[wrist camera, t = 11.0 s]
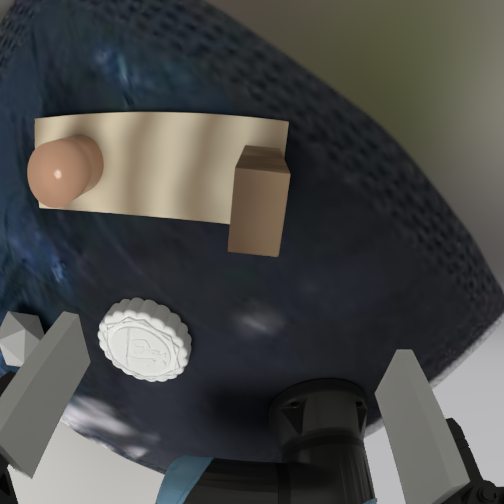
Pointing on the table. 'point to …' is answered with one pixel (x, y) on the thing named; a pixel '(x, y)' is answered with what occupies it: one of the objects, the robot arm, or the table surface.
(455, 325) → the table surface
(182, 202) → the strip
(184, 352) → the mooncake
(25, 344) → the die
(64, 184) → the pink glossy domed part
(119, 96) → the table surface
